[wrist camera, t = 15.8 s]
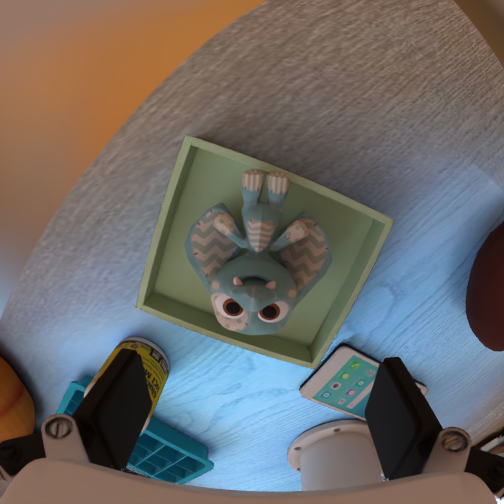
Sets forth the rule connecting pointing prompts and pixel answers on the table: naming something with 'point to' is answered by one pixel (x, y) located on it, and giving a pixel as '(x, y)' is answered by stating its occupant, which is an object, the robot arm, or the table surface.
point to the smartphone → (345, 381)
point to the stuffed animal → (257, 257)
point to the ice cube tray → (153, 445)
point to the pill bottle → (152, 363)
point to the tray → (297, 201)
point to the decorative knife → (495, 445)
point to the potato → (488, 292)
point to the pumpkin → (14, 405)
